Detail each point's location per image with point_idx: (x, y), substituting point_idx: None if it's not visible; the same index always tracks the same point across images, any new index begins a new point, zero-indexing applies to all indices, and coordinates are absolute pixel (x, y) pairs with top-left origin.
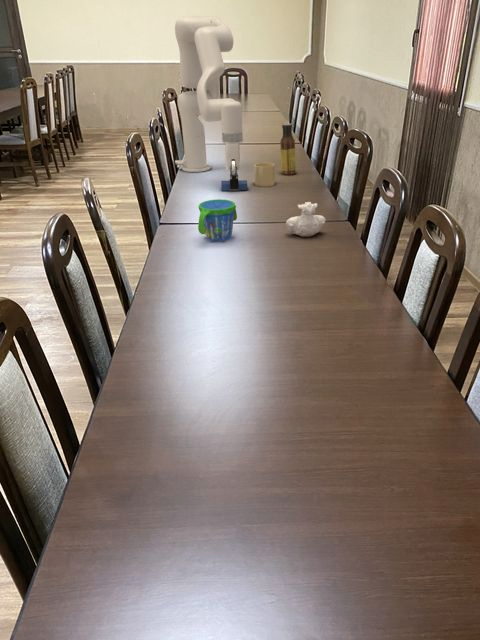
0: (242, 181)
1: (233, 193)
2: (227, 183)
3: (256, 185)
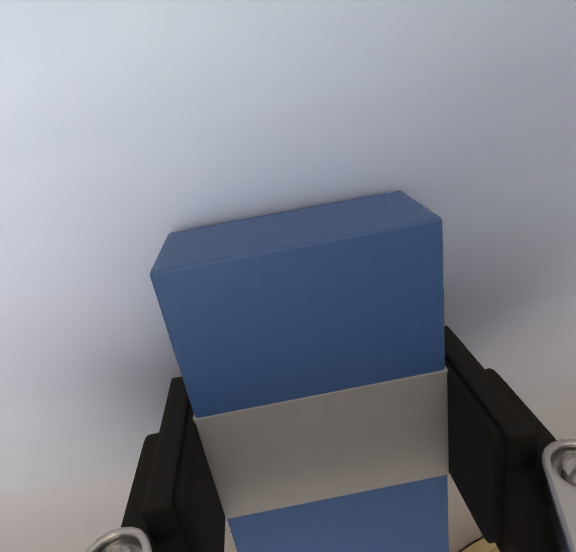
0: (375, 535)
1: (96, 405)
2: (235, 369)
3: (469, 548)
